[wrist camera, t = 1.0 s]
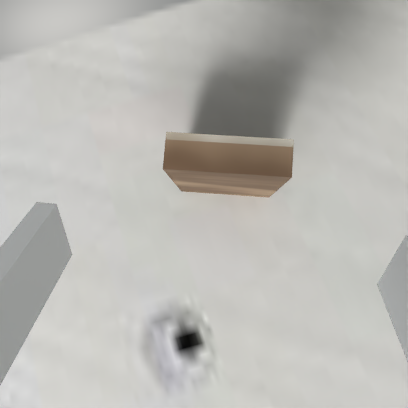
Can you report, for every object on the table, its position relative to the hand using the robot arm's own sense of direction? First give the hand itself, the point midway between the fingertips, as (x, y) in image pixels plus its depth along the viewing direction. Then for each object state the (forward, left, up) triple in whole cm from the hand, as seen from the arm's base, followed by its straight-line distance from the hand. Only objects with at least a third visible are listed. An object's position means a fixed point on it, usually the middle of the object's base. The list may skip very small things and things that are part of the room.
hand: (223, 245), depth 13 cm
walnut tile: (-3, -6, -24) cm, 25 cm away
